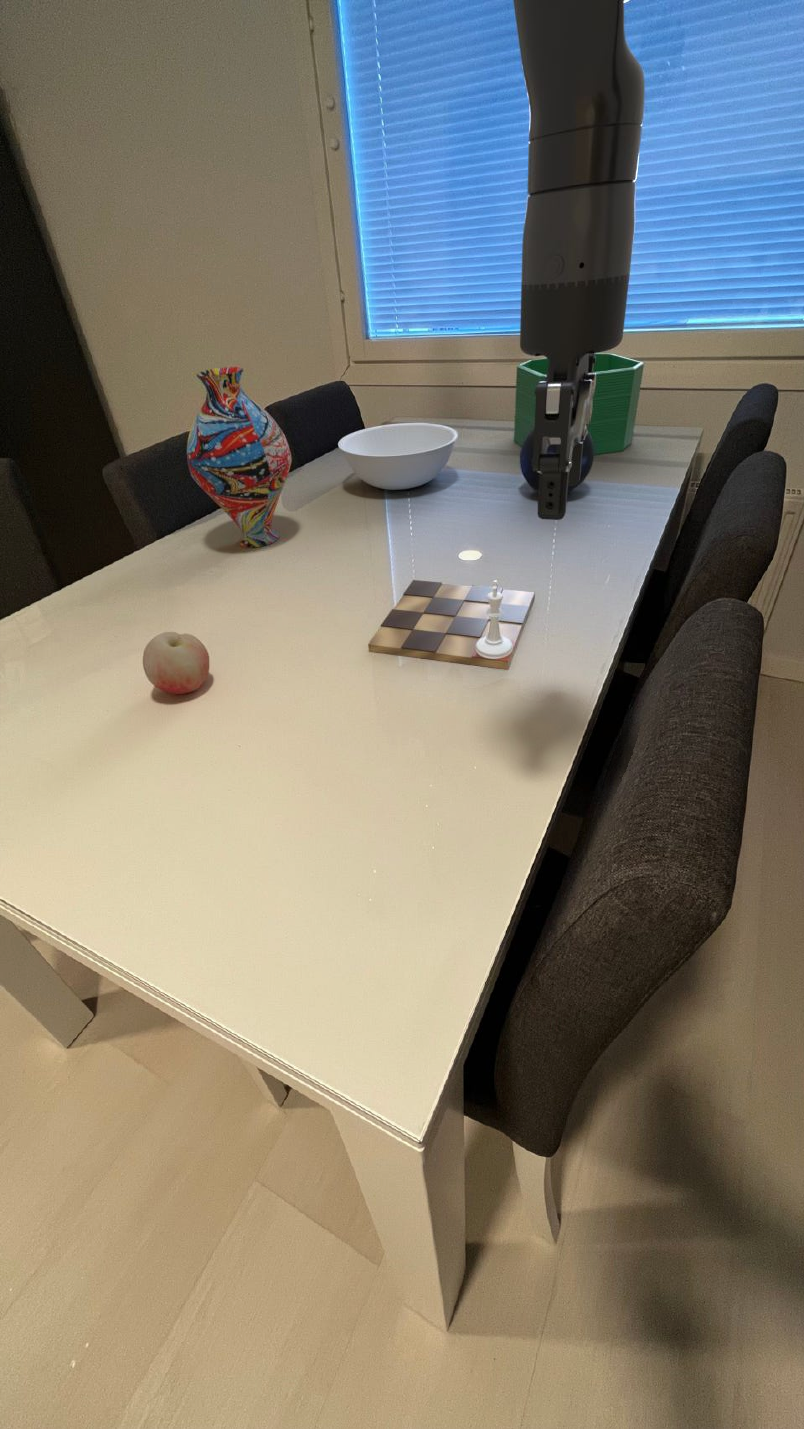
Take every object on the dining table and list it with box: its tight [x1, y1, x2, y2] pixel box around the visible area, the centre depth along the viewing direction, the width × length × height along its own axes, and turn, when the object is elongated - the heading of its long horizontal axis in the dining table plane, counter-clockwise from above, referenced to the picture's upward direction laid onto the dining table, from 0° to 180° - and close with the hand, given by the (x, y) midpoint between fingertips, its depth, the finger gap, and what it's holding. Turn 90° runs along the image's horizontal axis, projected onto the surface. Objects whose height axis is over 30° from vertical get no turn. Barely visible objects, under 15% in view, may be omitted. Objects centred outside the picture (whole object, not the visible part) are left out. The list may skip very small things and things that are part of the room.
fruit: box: [142, 631, 211, 695], centre depth 80 cm, size 8×8×8 cm
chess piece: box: [476, 580, 512, 659], centre depth 78 cm, size 5×5×10 cm
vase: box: [186, 366, 292, 548], centre depth 113 cm, size 19×19×30 cm
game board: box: [367, 579, 536, 670], centre depth 89 cm, size 20×20×1 cm
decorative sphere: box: [519, 428, 595, 493], centre depth 125 cm, size 15×15×15 cm
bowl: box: [337, 422, 459, 491], centre depth 140 cm, size 27×27×10 cm
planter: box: [513, 352, 645, 456], centre depth 152 cm, size 26×26×18 cm
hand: (559, 500), depth 53 cm, fingers open, 8 cm apart
